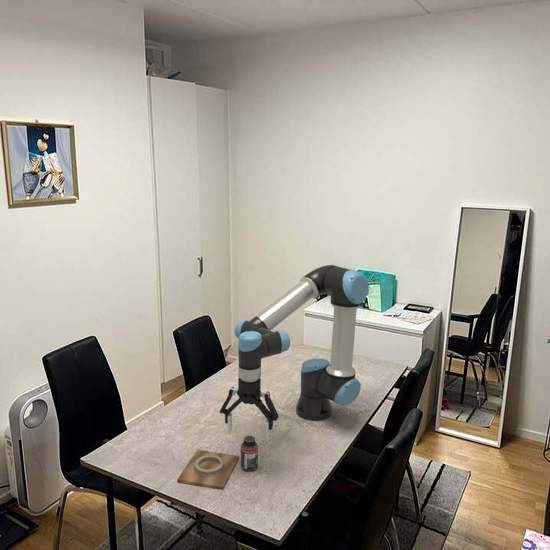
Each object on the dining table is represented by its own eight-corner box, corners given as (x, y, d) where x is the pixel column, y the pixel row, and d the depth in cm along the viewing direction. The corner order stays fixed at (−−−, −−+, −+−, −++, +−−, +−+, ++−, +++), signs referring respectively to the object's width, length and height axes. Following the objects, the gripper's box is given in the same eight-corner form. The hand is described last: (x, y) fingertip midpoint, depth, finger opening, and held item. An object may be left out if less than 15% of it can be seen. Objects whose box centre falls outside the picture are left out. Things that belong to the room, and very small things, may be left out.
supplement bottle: (240, 462, 183) (240, 433, 180) (257, 461, 183) (257, 433, 181) (240, 472, 177) (240, 443, 174) (258, 471, 178) (258, 442, 175)
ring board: (238, 458, 185) (238, 451, 184) (222, 489, 168) (222, 482, 167) (197, 451, 188) (197, 445, 188) (177, 482, 171) (177, 475, 171)
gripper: (288, 377, 173) (286, 433, 178) (217, 368, 178) (217, 423, 183) (283, 386, 166) (281, 445, 171) (210, 377, 171) (210, 434, 176)
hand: (248, 434), depth 177 cm, fingers open, 13 cm apart
